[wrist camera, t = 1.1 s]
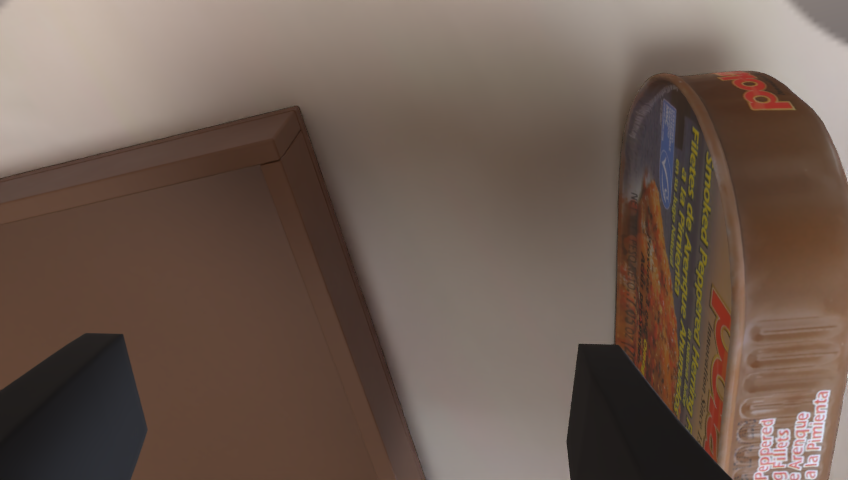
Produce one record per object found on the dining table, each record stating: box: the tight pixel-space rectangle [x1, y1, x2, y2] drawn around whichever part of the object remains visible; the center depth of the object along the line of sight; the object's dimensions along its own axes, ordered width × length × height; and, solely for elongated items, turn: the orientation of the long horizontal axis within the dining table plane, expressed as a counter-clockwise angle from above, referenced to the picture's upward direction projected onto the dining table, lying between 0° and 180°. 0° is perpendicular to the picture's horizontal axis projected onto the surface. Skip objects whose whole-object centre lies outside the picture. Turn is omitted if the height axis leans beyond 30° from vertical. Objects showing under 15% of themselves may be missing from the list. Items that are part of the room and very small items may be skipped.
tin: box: [615, 71, 848, 480], centre depth 19 cm, size 15×3×8 cm, turn 5°
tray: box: [0, 106, 425, 480], centre depth 25 cm, size 18×18×3 cm
